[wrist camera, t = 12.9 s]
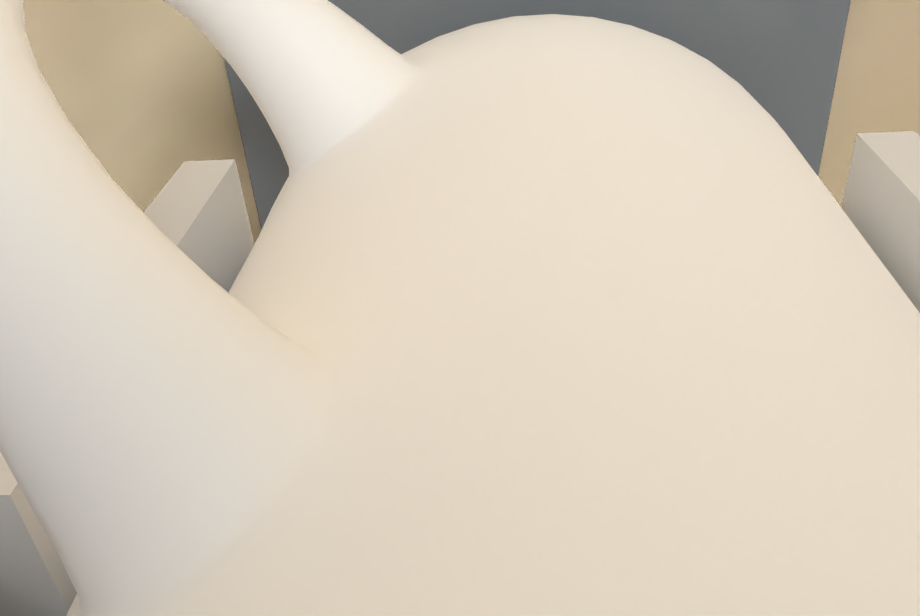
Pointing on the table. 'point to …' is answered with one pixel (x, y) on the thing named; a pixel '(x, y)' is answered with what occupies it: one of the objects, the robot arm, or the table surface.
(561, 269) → the mug
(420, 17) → the coaster
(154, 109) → the table surface
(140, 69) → the table surface
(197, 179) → the robot arm
